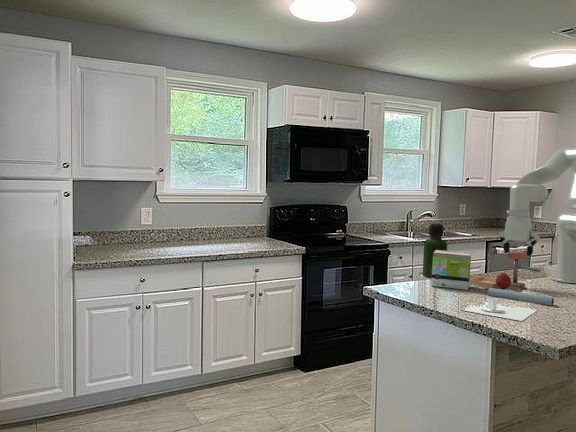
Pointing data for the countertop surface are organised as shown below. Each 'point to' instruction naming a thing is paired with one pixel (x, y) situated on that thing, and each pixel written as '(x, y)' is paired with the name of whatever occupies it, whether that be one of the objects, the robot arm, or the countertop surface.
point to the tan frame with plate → (513, 286)
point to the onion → (503, 281)
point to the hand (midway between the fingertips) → (517, 254)
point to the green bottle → (433, 247)
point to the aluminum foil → (521, 296)
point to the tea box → (451, 269)
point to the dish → (483, 282)
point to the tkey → (516, 257)
